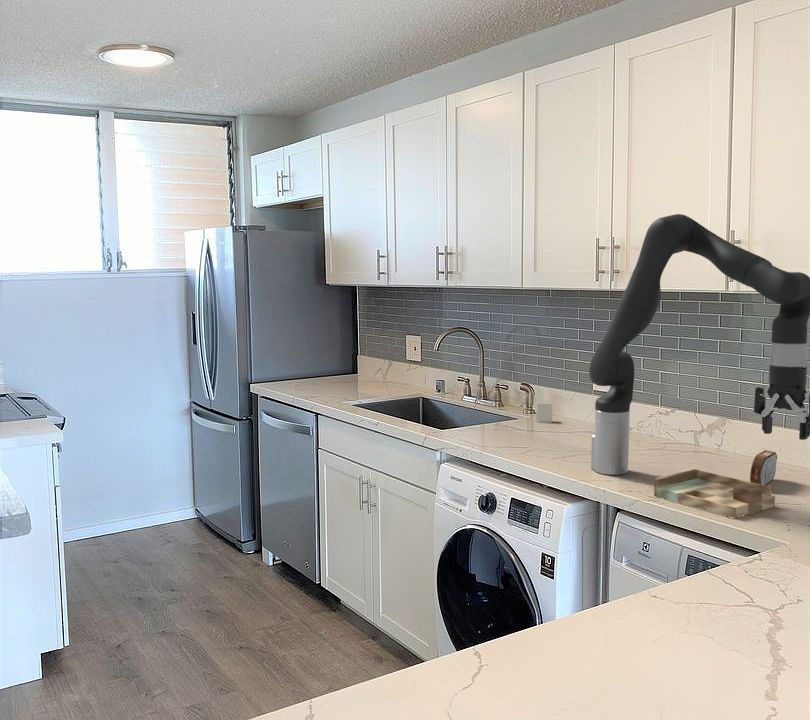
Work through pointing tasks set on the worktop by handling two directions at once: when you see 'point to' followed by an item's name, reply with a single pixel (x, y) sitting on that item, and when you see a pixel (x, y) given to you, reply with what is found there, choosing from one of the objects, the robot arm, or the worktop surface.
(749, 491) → the block
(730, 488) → the tray
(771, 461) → the tin
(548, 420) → the grey square slab
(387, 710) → the worktop surface
